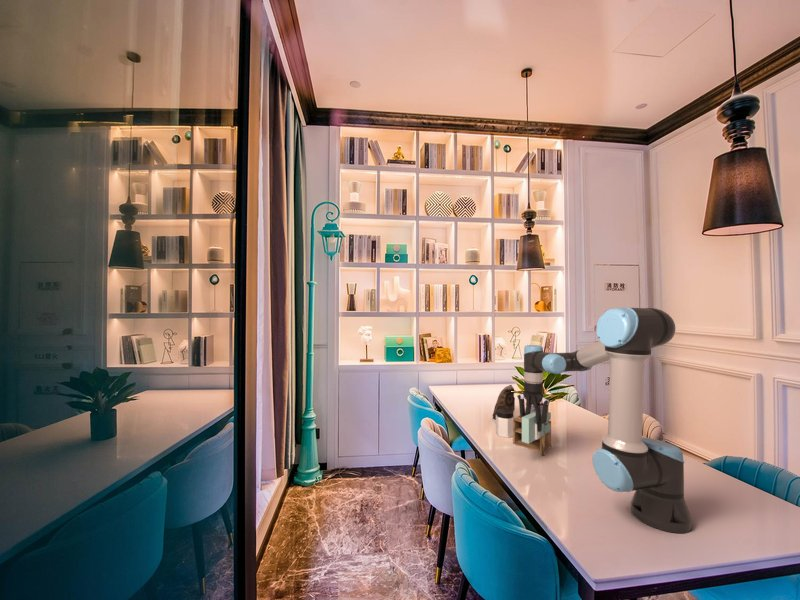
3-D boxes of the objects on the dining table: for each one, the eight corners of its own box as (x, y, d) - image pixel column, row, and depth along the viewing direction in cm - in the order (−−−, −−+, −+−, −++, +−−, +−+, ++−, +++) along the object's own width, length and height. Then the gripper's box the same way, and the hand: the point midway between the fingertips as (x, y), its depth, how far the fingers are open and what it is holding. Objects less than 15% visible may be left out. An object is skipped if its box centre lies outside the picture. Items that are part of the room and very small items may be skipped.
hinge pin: (544, 456, 152) (543, 428, 152) (541, 455, 153) (541, 428, 153) (545, 455, 153) (545, 428, 153) (542, 455, 154) (542, 427, 154)
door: (540, 430, 157) (540, 407, 157) (550, 433, 153) (550, 410, 154) (519, 441, 144) (519, 416, 144) (530, 444, 141) (530, 419, 141)
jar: (515, 438, 174) (515, 413, 175) (499, 438, 174) (499, 413, 174) (509, 431, 183) (509, 408, 184) (494, 431, 183) (494, 408, 183)
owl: (511, 417, 209) (511, 383, 210) (522, 423, 197) (522, 388, 197) (491, 418, 206) (491, 384, 207) (502, 425, 194) (502, 388, 195)
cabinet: (541, 452, 156) (541, 425, 157) (513, 443, 167) (513, 418, 167) (551, 446, 163) (551, 420, 164) (523, 438, 174) (523, 414, 174)
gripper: (556, 383, 144) (555, 440, 144) (519, 377, 156) (519, 430, 155) (548, 386, 139) (548, 445, 139) (511, 379, 151) (511, 434, 150)
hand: (533, 437), depth 147 cm, fingers closed on door, 3 cm apart
